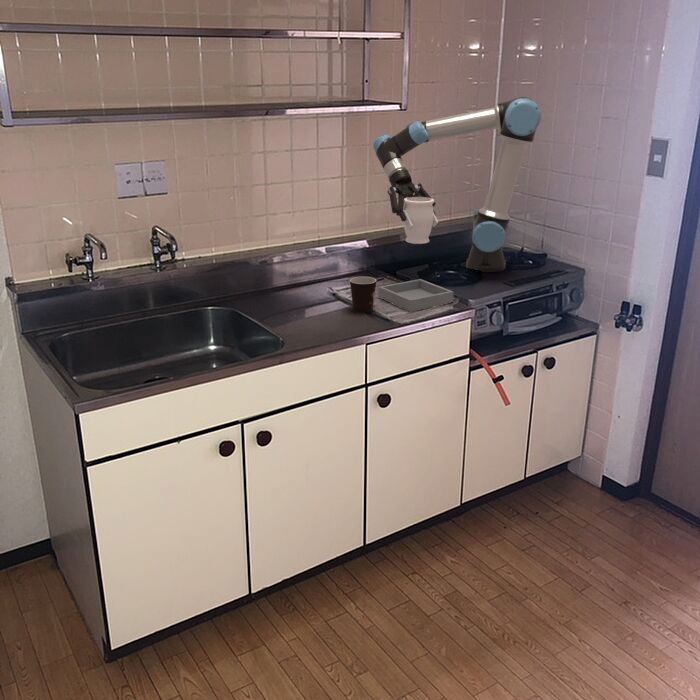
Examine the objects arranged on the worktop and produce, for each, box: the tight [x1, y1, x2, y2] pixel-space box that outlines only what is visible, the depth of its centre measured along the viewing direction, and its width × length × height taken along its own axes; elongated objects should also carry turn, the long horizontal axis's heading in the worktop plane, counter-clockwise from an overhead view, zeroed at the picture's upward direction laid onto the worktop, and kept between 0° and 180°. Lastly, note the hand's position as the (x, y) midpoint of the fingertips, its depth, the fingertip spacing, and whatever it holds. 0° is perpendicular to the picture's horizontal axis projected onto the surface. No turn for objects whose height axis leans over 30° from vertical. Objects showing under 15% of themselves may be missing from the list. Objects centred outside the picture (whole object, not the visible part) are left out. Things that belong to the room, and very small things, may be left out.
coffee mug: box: [349, 276, 377, 314], centre depth 250 cm, size 12×9×10 cm
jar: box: [403, 197, 435, 245], centre depth 269 cm, size 11×10×15 cm
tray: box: [378, 278, 454, 313], centre depth 260 cm, size 18×18×4 cm
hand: (423, 226), depth 268 cm, fingers closed on jar, 10 cm apart
